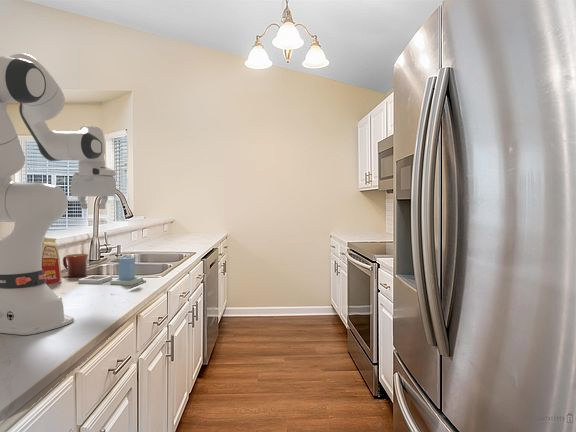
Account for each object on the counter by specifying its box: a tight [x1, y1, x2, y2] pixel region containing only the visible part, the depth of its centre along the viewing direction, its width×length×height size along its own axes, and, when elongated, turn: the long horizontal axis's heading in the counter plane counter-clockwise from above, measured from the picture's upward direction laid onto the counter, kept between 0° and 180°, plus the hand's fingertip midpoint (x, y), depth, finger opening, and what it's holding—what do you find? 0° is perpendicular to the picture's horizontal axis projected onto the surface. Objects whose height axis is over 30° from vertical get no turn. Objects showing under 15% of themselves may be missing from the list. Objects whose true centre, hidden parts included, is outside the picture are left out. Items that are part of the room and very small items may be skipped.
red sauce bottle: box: [41, 236, 63, 285], centre depth 160 cm, size 9×9×20 cm
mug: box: [62, 253, 89, 278], centre depth 174 cm, size 12×9×10 cm
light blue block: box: [118, 253, 136, 281], centre depth 159 cm, size 4×4×11 cm
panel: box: [75, 274, 147, 289], centre depth 160 cm, size 24×12×2 cm, turn 81°
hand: (92, 208), depth 145 cm, fingers open, 8 cm apart
